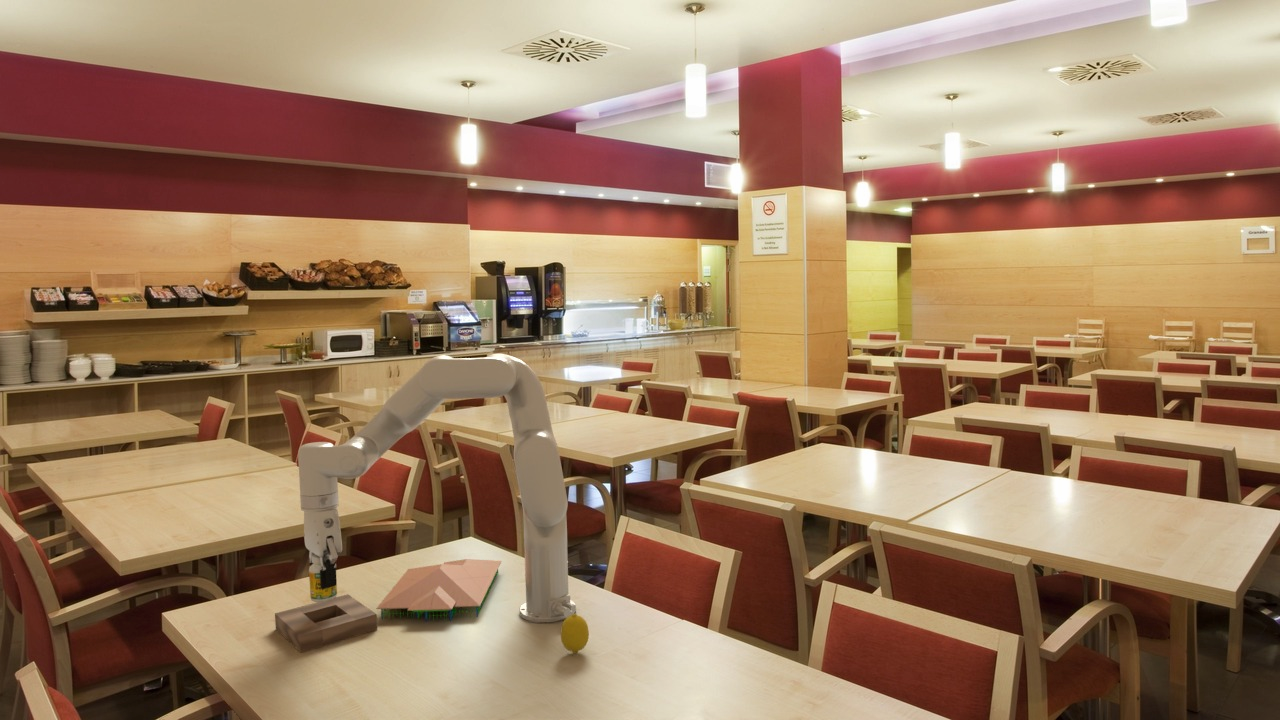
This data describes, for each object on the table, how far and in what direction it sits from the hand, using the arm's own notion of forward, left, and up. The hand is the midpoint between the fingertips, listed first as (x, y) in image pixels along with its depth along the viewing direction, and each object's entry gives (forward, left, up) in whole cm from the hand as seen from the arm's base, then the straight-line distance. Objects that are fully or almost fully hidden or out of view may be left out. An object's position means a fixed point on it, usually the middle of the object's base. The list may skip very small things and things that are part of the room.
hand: (323, 582), depth 171 cm
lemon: (-47, -32, -11) cm, 58 cm away
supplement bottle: (0, 0, -4) cm, 4 cm away
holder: (0, 0, -10) cm, 10 cm away
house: (0, -28, -11) cm, 30 cm away
